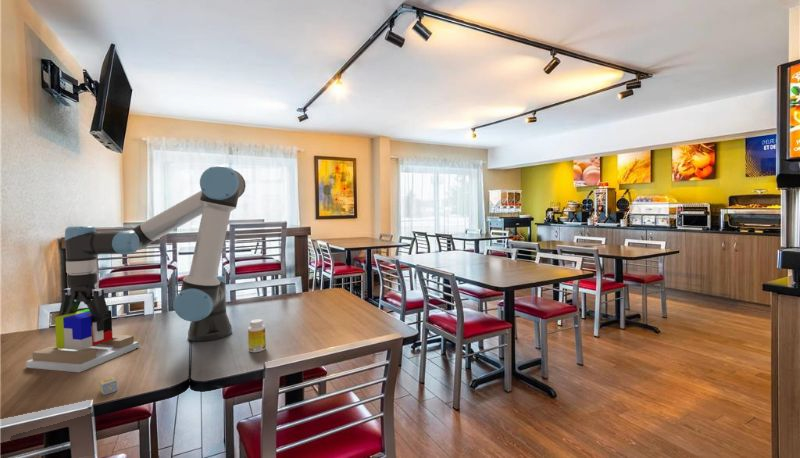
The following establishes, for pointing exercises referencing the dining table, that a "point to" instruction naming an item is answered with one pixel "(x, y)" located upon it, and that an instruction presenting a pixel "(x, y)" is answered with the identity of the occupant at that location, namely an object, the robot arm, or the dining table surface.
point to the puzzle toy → (79, 330)
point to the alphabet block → (108, 386)
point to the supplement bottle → (256, 336)
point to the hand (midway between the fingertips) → (85, 339)
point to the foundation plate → (100, 358)
